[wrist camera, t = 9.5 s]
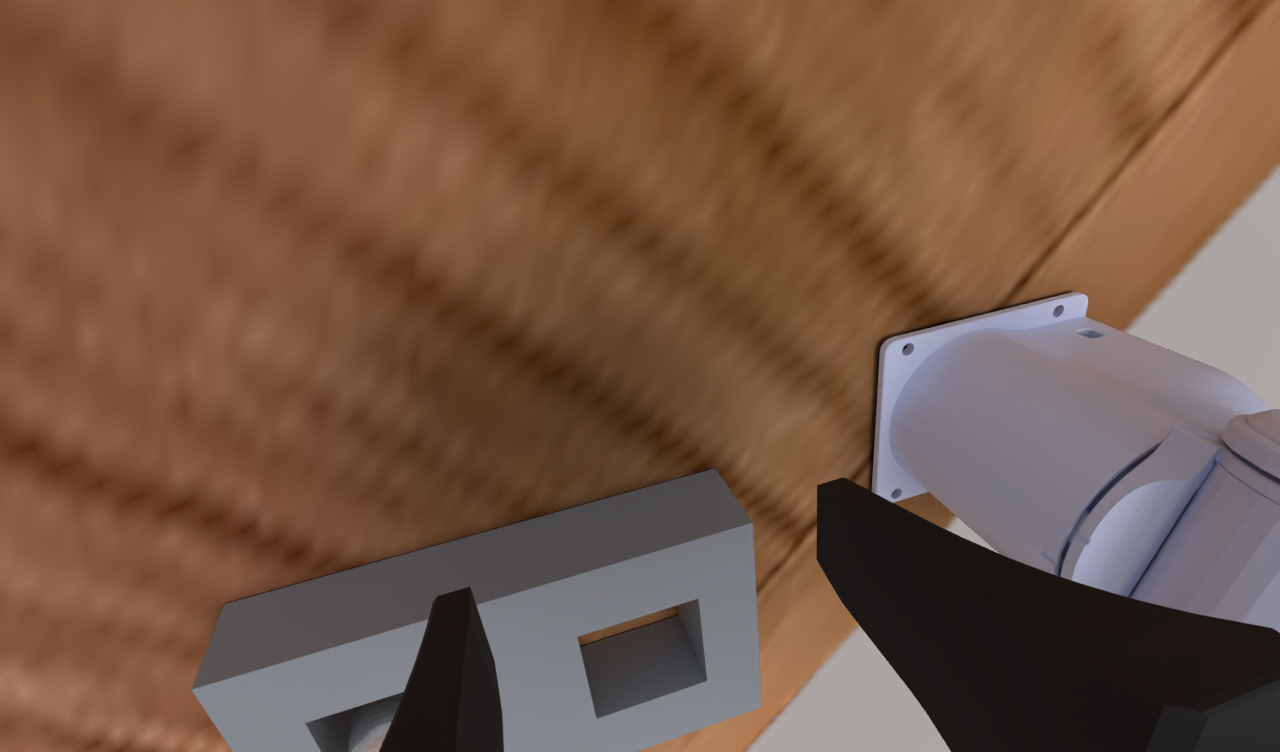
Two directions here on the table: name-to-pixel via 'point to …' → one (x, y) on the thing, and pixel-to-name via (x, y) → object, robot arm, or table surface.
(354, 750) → the metal peg
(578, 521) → the hole block
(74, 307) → the table surface
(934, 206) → the table surface
